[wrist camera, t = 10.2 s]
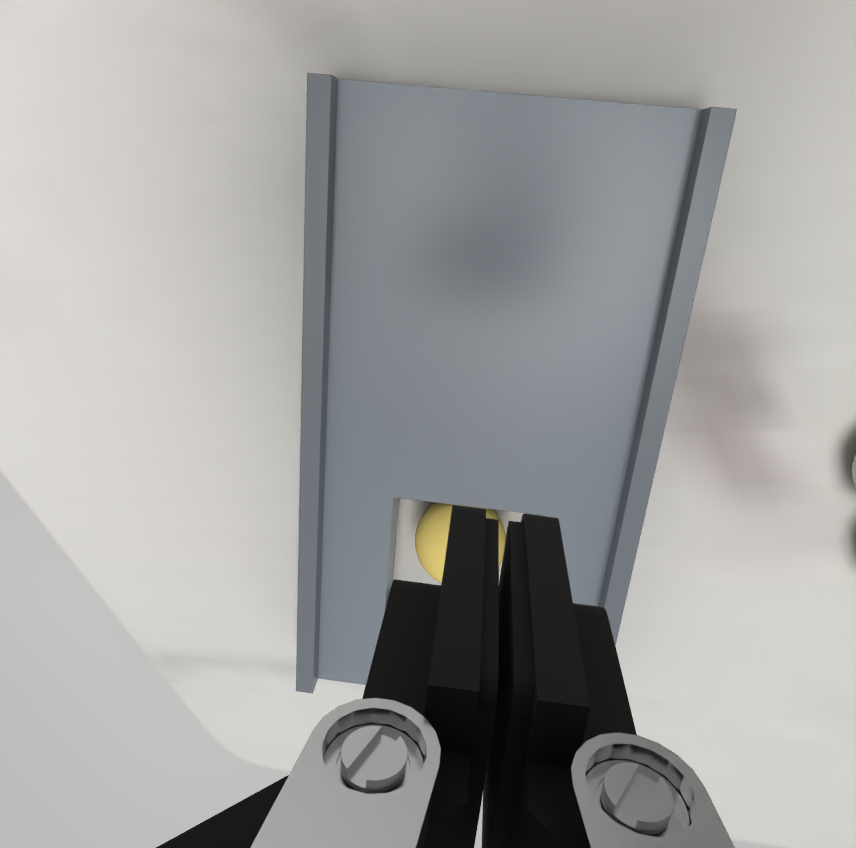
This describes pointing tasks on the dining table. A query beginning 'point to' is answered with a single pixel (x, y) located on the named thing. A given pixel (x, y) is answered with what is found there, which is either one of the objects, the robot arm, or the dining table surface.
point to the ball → (442, 538)
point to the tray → (487, 328)
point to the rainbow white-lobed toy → (854, 471)
